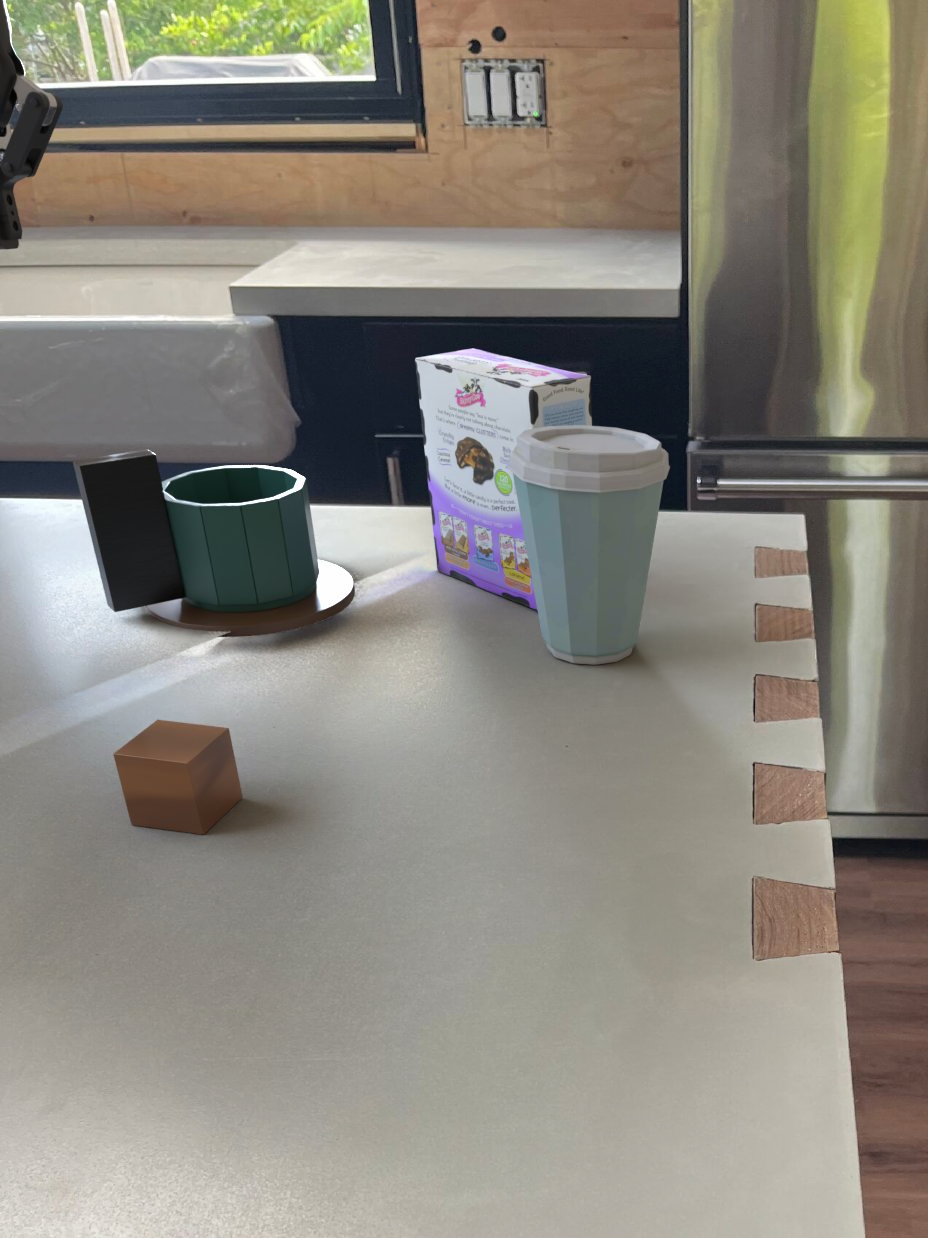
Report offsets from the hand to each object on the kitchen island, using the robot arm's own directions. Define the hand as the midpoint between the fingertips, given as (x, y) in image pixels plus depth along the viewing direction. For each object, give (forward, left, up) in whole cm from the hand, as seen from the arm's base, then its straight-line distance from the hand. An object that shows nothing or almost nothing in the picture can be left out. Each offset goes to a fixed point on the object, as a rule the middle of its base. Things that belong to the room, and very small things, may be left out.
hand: (2, 248), depth 95 cm
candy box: (+17, -31, -23) cm, 42 cm away
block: (-22, -39, -23) cm, 51 cm away
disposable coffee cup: (+10, -44, -23) cm, 51 cm away
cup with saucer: (-1, -19, -22) cm, 29 cm away
